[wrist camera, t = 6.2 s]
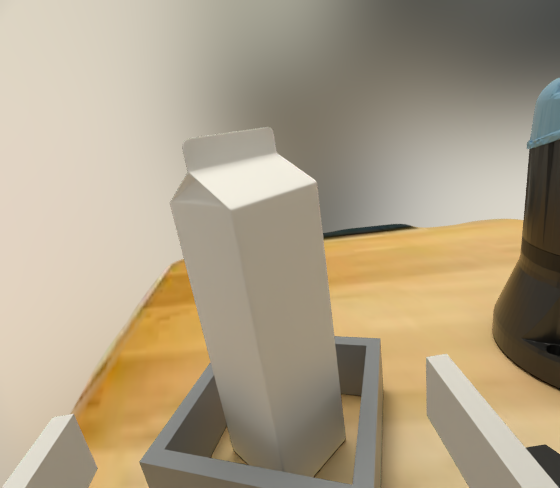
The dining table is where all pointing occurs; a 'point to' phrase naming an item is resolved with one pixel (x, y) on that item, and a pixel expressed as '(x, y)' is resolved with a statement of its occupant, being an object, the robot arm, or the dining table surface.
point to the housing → (254, 480)
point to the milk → (262, 298)
